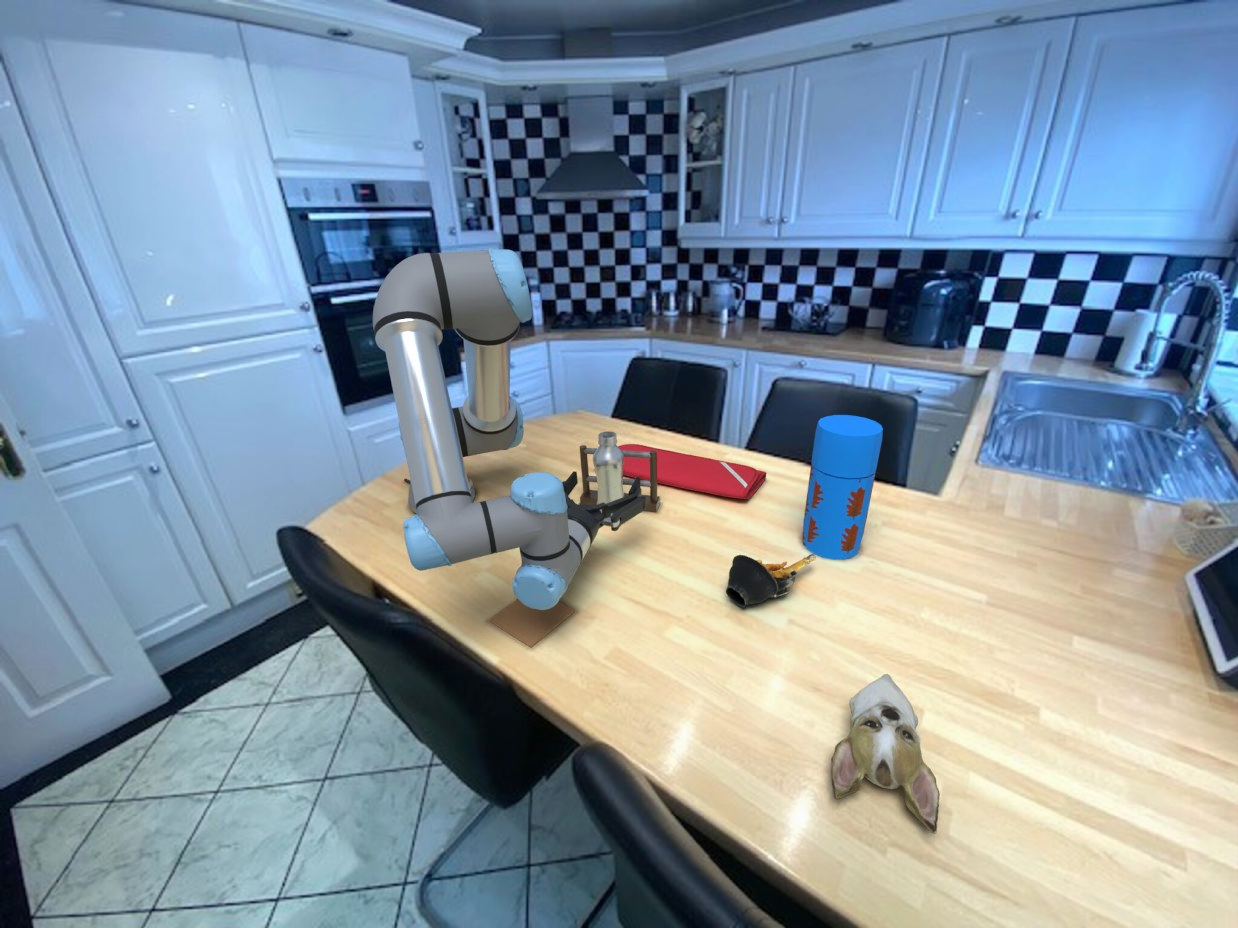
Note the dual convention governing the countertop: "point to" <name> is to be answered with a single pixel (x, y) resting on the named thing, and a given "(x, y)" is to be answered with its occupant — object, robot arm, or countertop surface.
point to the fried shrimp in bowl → (760, 579)
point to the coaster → (530, 621)
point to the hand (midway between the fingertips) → (606, 479)
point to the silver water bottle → (608, 468)
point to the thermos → (840, 485)
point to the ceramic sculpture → (885, 750)
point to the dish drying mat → (695, 472)
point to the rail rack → (592, 495)
